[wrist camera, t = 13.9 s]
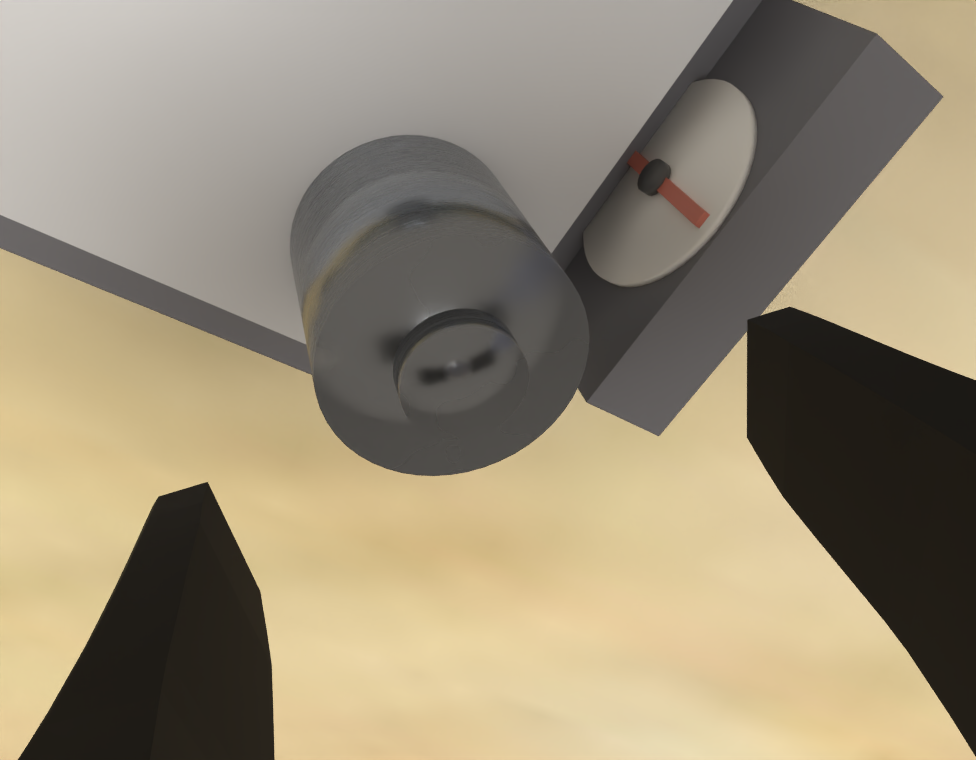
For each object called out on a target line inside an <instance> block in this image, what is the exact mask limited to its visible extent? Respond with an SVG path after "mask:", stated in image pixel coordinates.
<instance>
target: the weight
mask: <svg viewBox="0 0 976 760" xmlns="http://www.w3.org/2000/svg"><path fill="white" fill-rule="evenodd" d="M290 256H291V263H292V269H293V275H294V280H295V286H296V291H297V296H298V302H299V307H300V312H301V318H302V323H303V328H304V334H305V339H306V345H307V350H308V355H309V361H310V366H311V371H312V377H313V382H314V387H315V393H316V396H317V400H318V403H319V406H320V409H321V411H322V413H323V415H324V417H325V419H326V421H327V423H328V424H329V426H330V427H331V429H332V430H333V432H334V433H335V434H336V435H337V437H338V438H339V439H340V440H341V441H342V442H343V443H344V444H345V445H346V446H347V447H349V448H350V449H351V450H353V451H354V452H355V453H356V454H358V455H359V456H361V457H363V458H365V459H366V460H368V461H370V462H372V463H374V464H376V465H379V466H381V467H384V468H386V469H390V470H393V471H397V472H401V473H406V474H413V475H425V476H440V475H452V474H458V473H464V472H469V471H472V470H476V469H480V468H483V467H486V466H489V465H491V464H494V463H496V462H499V461H501V460H503V459H505V458H507V457H509V456H511V455H513V454H515V453H516V452H518V451H520V450H521V449H523V448H524V447H526V446H527V445H529V444H530V443H531V442H533V441H534V440H535V439H537V438H538V437H539V436H540V435H542V434H543V433H544V432H545V431H546V430H547V429H548V428H549V427H550V426H551V425H552V424H553V423H554V422H555V421H556V419H557V418H558V417H559V416H560V415H561V413H562V412H563V411H564V410H565V408H566V407H567V405H568V404H569V402H570V401H571V399H572V398H573V396H574V394H575V392H576V390H577V388H578V386H579V384H580V381H581V379H582V376H583V373H584V370H585V367H586V362H587V357H588V352H589V325H588V319H587V315H586V311H585V307H584V305H583V302H582V300H581V297H580V295H579V293H578V291H577V290H576V288H575V287H574V285H573V283H572V282H571V280H570V279H569V277H568V276H567V275H566V273H565V272H564V270H563V269H562V268H561V266H560V265H559V264H558V262H557V261H556V259H555V258H554V257H553V255H552V254H551V253H550V251H549V250H548V248H547V247H546V246H545V244H544V243H543V241H542V240H541V239H540V237H539V236H538V235H537V233H536V232H535V230H534V229H533V228H532V226H531V225H530V224H529V222H528V221H527V219H526V218H525V217H524V215H523V214H522V212H521V211H520V210H519V208H518V207H517V206H516V204H515V203H514V201H513V200H512V199H511V197H510V196H509V195H508V193H507V192H506V190H505V189H504V188H503V186H502V185H501V183H500V182H499V181H498V179H497V178H496V177H495V175H494V174H493V173H492V172H491V171H490V169H489V168H488V167H487V166H486V165H485V164H484V163H483V162H481V161H480V160H479V159H478V158H477V157H476V156H474V155H473V154H471V153H470V152H468V151H467V150H465V149H463V148H461V147H459V146H457V145H455V144H453V143H451V142H448V141H445V140H441V139H438V138H434V137H428V136H422V135H398V136H389V137H385V138H380V139H376V140H373V141H370V142H367V143H364V144H362V145H359V146H357V147H355V148H353V149H351V150H349V151H347V152H346V153H344V154H343V155H341V156H340V157H338V158H337V159H335V160H334V161H333V162H331V163H330V164H329V165H328V166H327V167H326V168H325V169H324V170H323V171H321V173H320V174H319V175H318V176H317V177H316V178H315V180H314V181H313V182H312V183H311V184H310V186H309V188H308V189H307V191H306V192H305V194H304V195H303V197H302V199H301V201H300V204H299V206H298V208H297V210H296V213H295V217H294V220H293V223H292V229H291V235H290Z"/></svg>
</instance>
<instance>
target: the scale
mask: <svg viewBox="0 0 976 760" xmlns="http://www.w3.org/2000/svg"><path fill="white" fill-rule="evenodd" d="M942 98H943V96H942V95H941V94H940V93H939V92H938V91H937V90H936V89H935V88H934V87H933V86H932V85H930V84H929V83H928V82H927V81H926V80H925V79H924V78H923V77H922V76H921V75H920V74H919V73H918V72H917V71H916V70H915V69H914V68H913V67H912V66H910V65H909V64H908V63H907V62H906V61H905V60H904V59H903V58H902V57H901V56H900V55H899V54H898V53H897V52H896V51H895V50H894V49H893V48H891V47H890V46H889V45H888V44H887V43H886V42H885V41H884V40H883V39H882V38H881V37H880V36H879V35H878V34H876V33H874V32H871V31H869V30H866V29H864V28H861V27H859V26H856V25H853V24H851V23H848V22H846V21H843V20H841V19H838V18H836V17H833V16H831V15H828V14H825V13H823V12H820V11H818V10H815V9H813V8H810V7H808V6H805V5H803V4H800V3H798V2H795V1H792V0H0V248H1V249H4V250H6V251H9V252H11V253H14V254H16V255H19V256H21V257H24V258H26V259H28V260H31V261H33V262H36V263H38V264H41V265H43V266H46V267H48V268H51V269H53V270H56V271H58V272H60V273H63V274H65V275H68V276H70V277H73V278H75V279H78V280H80V281H83V282H85V283H87V284H90V285H92V286H95V287H97V288H100V289H102V290H105V291H107V292H110V293H112V294H115V295H117V296H119V297H122V298H124V299H127V300H129V301H132V302H134V303H137V304H139V305H142V306H144V307H146V308H149V309H151V310H154V311H156V312H159V313H161V314H164V315H166V316H169V317H171V318H173V319H176V320H178V321H181V322H183V323H186V324H188V325H191V326H193V327H196V328H198V329H201V330H203V331H205V332H208V333H210V334H213V335H215V336H218V337H220V338H223V339H225V340H228V341H230V342H232V343H235V344H237V345H240V346H242V347H245V348H247V349H250V350H252V351H255V352H257V353H259V354H262V355H264V356H267V357H269V358H272V359H274V360H277V361H279V362H282V363H284V364H287V365H289V366H291V367H294V368H296V369H299V370H301V371H304V372H306V373H309V374H311V375H312V371H311V366H310V361H309V355H308V350H307V345H306V339H305V334H304V328H303V323H302V318H301V312H300V307H299V302H298V296H297V291H296V286H295V280H294V275H293V269H292V263H291V256H290V235H291V229H292V223H293V220H294V217H295V213H296V210H297V208H298V206H299V204H300V201H301V199H302V197H303V195H304V194H305V192H306V191H307V189H308V188H309V186H310V184H311V183H312V182H313V181H314V180H315V178H316V177H317V176H318V175H319V174H320V173H321V171H323V170H324V169H325V168H326V167H327V166H328V165H329V164H330V163H331V162H333V161H334V160H335V159H337V158H338V157H340V156H341V155H343V154H344V153H346V152H347V151H349V150H351V149H353V148H355V147H357V146H359V145H362V144H364V143H367V142H370V141H373V140H376V139H380V138H385V137H389V136H398V135H422V136H428V137H434V138H438V139H441V140H445V141H448V142H451V143H453V144H455V145H457V146H459V147H461V148H463V149H465V150H467V151H468V152H470V153H471V154H473V155H474V156H476V157H477V158H478V159H479V160H480V161H481V162H483V163H484V164H485V165H486V166H487V167H488V168H489V169H490V171H491V172H492V173H493V174H494V175H495V177H496V178H497V179H498V181H499V182H500V183H501V185H502V186H503V188H504V189H505V190H506V192H507V193H508V195H509V196H510V197H511V199H512V200H513V201H514V203H515V204H516V206H517V207H518V208H519V210H520V211H521V212H522V214H523V215H524V217H525V218H526V219H527V221H528V222H529V224H530V225H531V226H532V228H533V229H534V230H535V232H536V233H537V235H538V236H539V237H540V239H541V240H542V241H543V243H544V244H545V246H546V247H547V248H548V250H549V251H550V253H551V254H552V255H553V257H554V258H555V259H556V261H557V262H558V264H559V265H560V266H561V268H562V269H563V270H564V272H565V273H566V275H567V276H568V277H569V279H570V280H571V282H572V283H573V285H574V287H575V288H576V290H577V291H578V293H579V295H580V297H581V300H582V302H583V305H584V307H585V311H586V315H587V319H588V325H589V352H588V357H587V362H586V367H585V370H584V373H583V376H582V379H581V381H580V384H579V386H578V389H579V391H580V392H581V394H582V396H583V397H584V399H585V400H586V402H587V403H589V404H591V405H593V406H596V407H598V408H600V409H602V410H604V411H606V412H608V413H611V414H613V415H615V416H617V417H619V418H621V419H623V420H625V421H628V422H630V423H632V424H634V425H636V426H638V427H640V428H642V429H645V430H647V431H649V432H651V433H653V434H655V435H657V436H660V434H661V433H662V432H663V431H664V430H665V428H666V427H667V426H668V425H669V424H670V422H671V421H672V420H673V419H674V418H675V416H676V415H677V414H678V413H679V412H680V410H681V409H682V408H683V407H684V406H685V404H686V403H687V402H688V401H689V400H690V399H691V397H692V396H693V395H694V394H695V393H696V391H697V390H698V389H699V388H700V387H701V385H702V384H703V383H704V382H705V381H706V379H707V378H708V377H709V376H710V375H711V373H712V372H713V371H714V370H715V369H716V367H717V366H718V365H719V364H720V363H721V362H722V360H723V359H724V358H725V357H726V356H727V354H728V353H729V352H730V351H731V350H732V348H733V347H734V346H735V345H736V344H737V342H738V341H739V340H740V339H741V338H742V336H743V335H744V334H745V333H746V332H747V320H748V319H751V318H754V317H758V316H760V315H761V314H762V313H763V311H764V310H765V309H766V308H767V307H768V305H769V304H770V303H771V302H772V301H773V299H774V298H775V297H776V296H777V295H778V293H779V292H780V291H781V290H782V289H783V288H784V286H785V285H786V284H787V283H788V282H789V280H790V279H791V278H792V277H793V276H794V274H795V273H796V272H797V271H798V270H799V268H800V267H801V266H802V265H803V264H804V262H805V261H806V260H807V259H808V258H809V257H810V255H811V254H812V253H813V252H814V251H815V249H816V248H817V247H818V246H819V245H820V243H821V242H822V241H823V240H824V239H825V237H826V236H827V235H828V234H829V233H830V231H831V230H832V229H833V228H834V227H835V225H836V224H837V223H838V222H839V221H840V220H841V218H842V217H843V216H844V215H845V214H846V212H847V211H848V210H849V209H850V208H851V206H852V205H853V204H854V203H855V202H856V200H857V199H858V198H859V197H860V196H861V194H862V193H863V192H864V191H865V190H866V188H867V187H868V186H869V185H870V184H871V183H872V181H873V180H874V179H875V178H876V177H877V175H878V174H879V173H880V172H881V171H882V169H883V168H884V167H885V166H886V165H887V163H888V162H889V161H890V160H891V159H892V157H893V156H894V155H895V154H896V153H897V151H898V150H899V149H900V148H901V147H902V146H903V144H904V143H905V142H906V141H907V140H908V138H909V137H910V136H911V135H912V134H913V132H914V131H915V130H916V129H917V128H918V126H919V125H920V124H921V123H922V122H923V120H924V119H925V118H926V117H927V116H928V114H929V113H930V112H931V111H932V110H933V109H934V107H935V106H936V105H937V104H938V103H939V101H940V100H941V99H942Z"/></svg>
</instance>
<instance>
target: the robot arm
mask: <svg viewBox="0 0 976 760" xmlns="http://www.w3.org/2000/svg"><path fill="white" fill-rule="evenodd" d="M747 438H748V440H749V442H750V443H751V445H752V447H753V448H754V450H755V452H756V454H757V455H758V457H759V459H760V460H761V462H762V464H763V465H764V467H765V469H766V471H767V472H768V474H769V475H770V477H771V478H772V480H773V482H774V483H775V485H776V486H777V488H778V489H779V491H780V493H781V494H782V496H783V497H784V499H785V500H786V501H787V502H788V504H789V505H790V506H791V507H792V509H793V510H794V511H795V513H796V514H797V515H798V516H799V517H800V519H801V520H802V521H803V522H804V524H805V525H806V526H807V527H808V529H809V530H810V531H811V532H812V534H813V535H814V536H815V537H816V538H817V540H818V541H819V542H820V543H821V545H822V546H823V547H824V548H825V549H826V551H827V552H828V553H829V554H830V555H831V557H832V558H833V559H834V560H835V562H836V563H837V564H838V565H839V566H840V568H841V569H842V570H843V571H844V572H845V574H846V575H847V576H848V577H849V579H850V580H851V581H852V582H853V583H854V585H855V586H856V587H857V588H858V589H859V591H860V592H861V593H862V594H863V595H864V597H865V598H866V599H867V600H868V602H869V603H870V604H871V605H872V606H873V608H874V609H875V610H876V611H877V612H878V614H879V615H880V616H881V617H882V619H883V620H884V621H885V622H886V624H887V625H888V626H889V627H890V629H891V630H892V631H893V633H894V634H895V635H896V637H897V638H898V639H899V641H900V642H901V643H902V645H903V646H904V647H905V649H906V650H907V651H908V653H909V654H910V656H911V657H912V659H913V660H914V662H915V663H916V665H917V666H918V668H919V669H920V671H921V672H922V674H923V675H924V677H925V678H926V680H927V681H928V683H929V684H930V686H931V688H932V689H933V691H934V692H935V694H936V695H937V697H938V698H939V700H940V701H941V703H942V704H943V706H944V707H945V709H946V710H947V712H948V713H949V715H950V716H951V718H952V719H953V721H954V723H955V724H956V726H957V727H958V729H959V731H960V732H961V734H962V735H963V737H964V739H965V740H966V742H967V743H968V745H969V747H970V748H971V750H972V751H973V753H974V755H975V756H976V380H973V379H971V378H968V377H965V376H963V375H960V374H957V373H955V372H952V371H949V370H947V369H944V368H941V367H939V366H936V365H934V364H931V363H929V362H926V361H924V360H921V359H919V358H916V357H914V356H911V355H909V354H906V353H904V352H901V351H899V350H896V349H894V348H892V347H889V346H887V345H884V344H882V343H880V342H877V341H875V340H872V339H870V338H868V337H865V336H863V335H860V334H858V333H856V332H853V331H851V330H848V329H846V328H843V327H841V326H839V325H836V324H834V323H831V322H829V321H826V320H824V319H821V318H819V317H816V316H814V315H811V314H809V313H806V312H803V311H800V310H798V309H795V308H792V307H788V308H784V309H781V310H778V311H774V312H771V313H768V314H764V315H761V316H758V317H754V318H751V319H748V320H747ZM18 760H274V724H273V691H272V664H271V657H270V650H269V643H268V637H267V630H266V624H265V618H264V611H263V605H262V599H261V593H260V590H259V588H258V586H257V584H256V582H255V580H254V577H253V575H252V573H251V571H250V569H249V567H248V565H247V563H246V561H245V559H244V557H243V555H242V553H241V550H240V548H239V546H238V544H237V542H236V540H235V538H234V536H233V534H232V532H231V530H230V528H229V526H228V523H227V521H226V519H225V517H224V515H223V513H222V511H221V509H220V507H219V505H218V503H217V501H216V499H215V496H214V494H213V492H212V490H211V488H210V486H209V484H208V482H206V483H202V484H199V485H196V486H193V487H189V488H186V489H183V490H179V491H176V492H173V493H169V494H166V495H163V496H159V497H158V498H157V500H156V502H155V503H154V505H153V507H152V509H151V511H150V513H149V516H148V518H147V520H146V522H145V524H144V526H143V529H142V531H141V533H140V535H139V537H138V540H137V542H136V544H135V546H134V548H133V551H132V553H131V555H130V557H129V559H128V561H127V564H126V566H125V568H124V570H123V572H122V574H121V576H120V578H119V580H118V583H117V585H116V587H115V589H114V591H113V593H112V595H111V597H110V599H109V601H108V603H107V605H106V607H105V609H104V611H103V613H102V615H101V617H100V619H99V621H98V622H97V624H96V626H95V628H94V630H93V632H92V634H91V636H90V638H89V640H88V642H87V644H86V646H85V648H84V650H83V651H82V653H81V655H80V657H79V659H78V660H77V662H76V664H75V666H74V667H73V669H72V671H71V673H70V674H69V676H68V678H67V680H66V681H65V683H64V685H63V687H62V688H61V690H60V692H59V694H58V695H57V697H56V699H55V701H54V702H53V704H52V706H51V708H50V709H49V711H48V713H47V714H46V716H45V718H44V719H43V721H42V723H41V724H40V726H39V727H38V729H37V731H36V732H35V734H34V735H33V737H32V739H31V740H30V742H29V743H28V745H27V747H26V748H25V750H24V751H23V753H22V754H21V756H20V757H19V759H18Z"/></svg>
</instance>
